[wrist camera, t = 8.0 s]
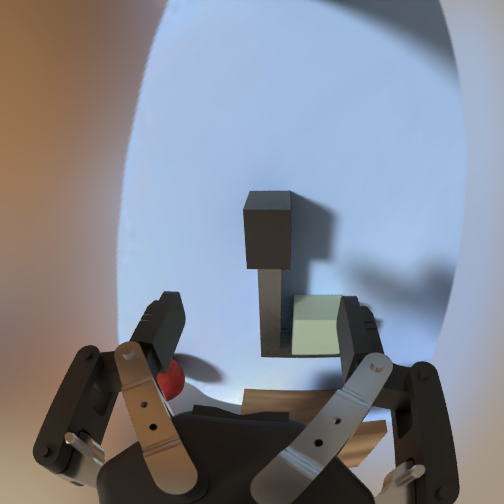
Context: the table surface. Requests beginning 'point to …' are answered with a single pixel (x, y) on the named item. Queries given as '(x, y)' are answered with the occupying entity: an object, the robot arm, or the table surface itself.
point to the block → (315, 324)
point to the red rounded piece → (172, 381)
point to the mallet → (271, 265)
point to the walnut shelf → (306, 409)
